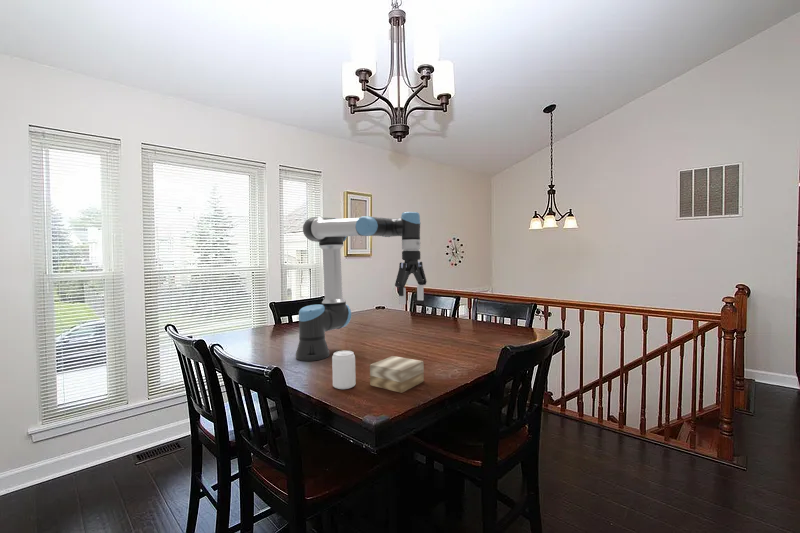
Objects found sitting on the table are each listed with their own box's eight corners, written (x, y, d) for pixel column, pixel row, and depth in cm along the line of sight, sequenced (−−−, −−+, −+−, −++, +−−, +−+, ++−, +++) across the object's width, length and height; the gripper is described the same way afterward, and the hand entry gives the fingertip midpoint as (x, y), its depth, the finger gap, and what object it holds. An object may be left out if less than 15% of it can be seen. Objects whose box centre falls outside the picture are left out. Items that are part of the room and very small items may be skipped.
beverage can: (333, 382, 142) (333, 350, 142) (355, 382, 143) (355, 349, 142) (331, 390, 134) (331, 356, 134) (355, 389, 135) (354, 355, 134)
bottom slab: (370, 386, 139) (370, 375, 139) (393, 376, 151) (393, 366, 151) (401, 394, 131) (401, 382, 131) (423, 382, 143) (423, 372, 142)
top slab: (370, 375, 139) (369, 364, 139) (393, 366, 151) (393, 355, 151) (401, 382, 131) (401, 370, 131) (423, 371, 142) (423, 361, 142)
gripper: (401, 250, 145) (402, 306, 146) (434, 250, 166) (434, 299, 167) (385, 250, 149) (386, 305, 150) (419, 250, 170) (419, 298, 171)
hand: (411, 302), depth 158 cm, fingers open, 13 cm apart
